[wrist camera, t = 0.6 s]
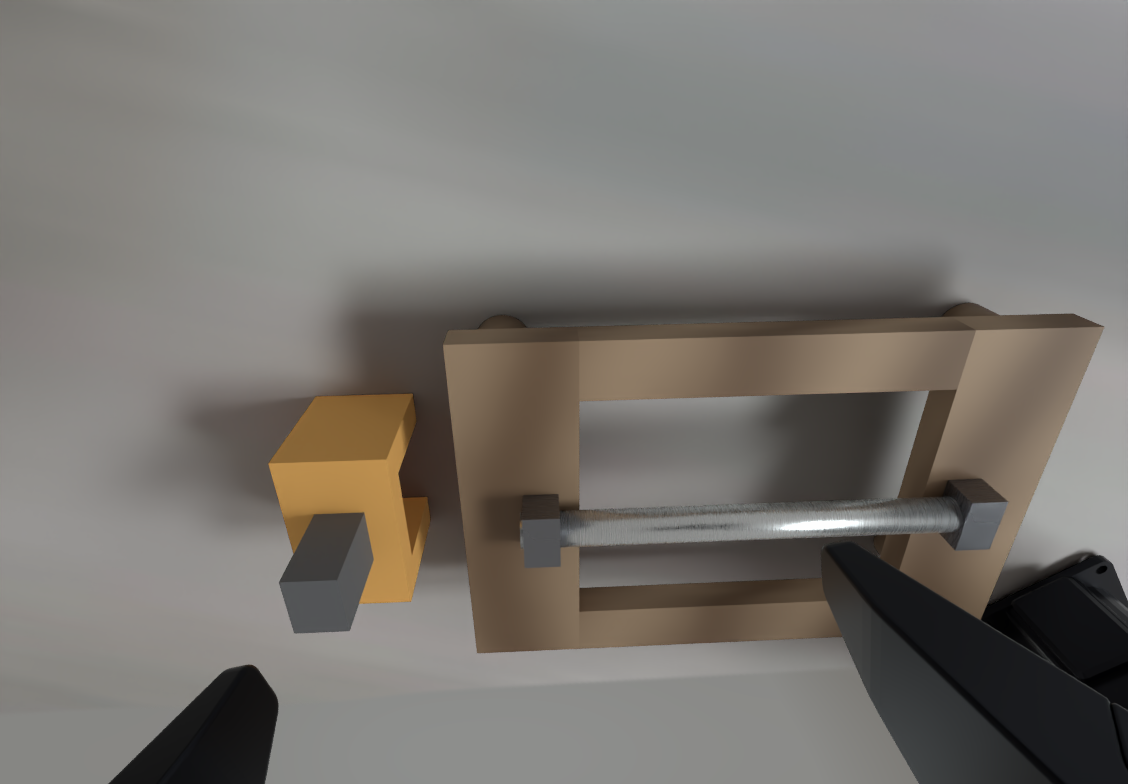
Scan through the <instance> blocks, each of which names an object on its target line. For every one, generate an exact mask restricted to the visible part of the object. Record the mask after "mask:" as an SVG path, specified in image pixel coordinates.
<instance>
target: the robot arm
mask: <svg viewBox="0 0 1128 784" xmlns="http://www.w3.org/2000/svg"><path fill="white" fill-rule="evenodd" d="M821 567H822V586H823V591H824V594H825V597H826V600H827V602H828V605H829V607H830V609H831V611H832V614H833V616H834V618H835V620H836V623H837V625H838V627H839V629H840V632H841V634H842V636H843V638H844V641H845V643H846V645H847V647H848V650H849V652H850V654H851V656H852V659H853V661H854V663H855V665H856V668H857V670H858V672H859V674H860V677H861V679H862V681H863V683H864V686H865V688H866V690H867V692H868V694H869V696H870V698H871V700H872V702H873V704H874V706H875V708H876V709H877V711H878V713H879V715H880V717H881V718H882V720H883V722H884V724H885V725H886V727H887V729H888V731H889V732H890V734H891V736H892V737H893V739H894V741H895V743H896V745H897V746H898V748H899V750H900V751H901V753H902V755H903V757H904V758H905V760H906V762H907V764H908V765H909V767H910V769H911V771H912V772H913V774H914V776H915V778H916V779H917V781H918V783H919V784H1128V600H1127V598H1126V596H1125V593H1124V591H1123V588H1122V586H1121V583H1120V581H1119V578H1118V576H1117V574H1116V571H1115V569H1114V566H1113V564H1112V563H1111V562H1110V561H1109V560H1107V559H1106V558H1105V557H1104V556H1101V555H1099V556H1094V557H1091V558H1089V559H1087V560H1085V561H1083V562H1081V563H1079V564H1076V565H1074V566H1072V567H1070V568H1068V569H1066V570H1064V571H1062V572H1060V573H1058V574H1055V575H1053V576H1051V577H1049V578H1047V579H1045V580H1043V581H1041V582H1039V583H1037V584H1035V585H1032V586H1030V587H1028V588H1026V589H1024V590H1022V591H1020V592H1018V593H1016V594H1014V595H1011V596H1009V597H1007V598H1005V599H1003V600H1001V601H999V602H997V603H995V604H993V605H991V606H988V607H986V608H985V611H984V613H983V615H982V618H981V620H980V619H978V618H976V617H975V616H973V615H972V614H970V613H968V612H967V611H965V610H963V609H962V608H960V607H959V606H957V605H955V604H954V603H952V602H951V601H949V600H947V599H946V598H944V597H942V596H941V595H939V594H938V593H936V592H934V591H933V590H931V589H929V588H928V587H926V586H925V585H923V584H921V583H920V582H918V581H916V580H915V579H913V578H912V577H910V576H908V575H907V574H905V573H903V572H902V571H900V570H899V569H897V568H895V567H894V566H892V565H890V564H889V563H887V562H886V561H884V560H882V559H881V558H879V557H877V556H876V555H874V554H873V553H871V552H869V551H868V550H866V549H864V548H863V547H861V546H860V545H858V544H856V543H855V542H852V541H849V540H844V541H839V542H835V543H830V544H826V545H824V546H823V547H822V550H821ZM277 716H278V699H277V696H276V694H275V693H274V691H273V690H272V688H271V687H270V685H269V684H268V683H267V681H266V680H265V678H264V677H263V676H262V674H261V673H260V671H259V670H258V669H257V668H256V667H255V666H253V665H243V666H239V667H234V668H229V669H227V670H225V671H223V672H222V673H221V674H220V675H219V676H218V677H217V678H216V679H215V680H214V681H213V682H212V683H211V684H210V685H209V686H208V687H207V688H206V689H205V690H204V691H203V692H202V693H200V694H199V695H198V696H197V697H196V698H195V699H194V700H193V701H192V702H191V703H190V704H189V705H188V706H187V707H186V708H185V709H184V710H183V711H182V712H181V713H180V714H179V715H178V716H177V717H176V718H175V719H174V720H173V721H172V722H171V723H170V724H169V725H168V726H167V727H166V728H165V729H164V730H163V731H162V732H161V733H160V734H159V735H158V736H157V737H156V738H155V739H154V740H153V741H152V742H151V743H149V745H147V747H145V748H144V749H143V750H142V751H141V752H140V753H139V754H138V755H137V756H136V757H135V758H134V759H133V760H132V761H131V762H130V763H129V764H128V765H127V766H126V767H125V768H124V769H123V770H122V771H121V772H120V773H119V774H118V775H117V776H116V777H115V778H114V779H113V780H112V781H111V782H110V783H109V784H265V780H266V775H267V770H268V764H269V758H270V753H271V748H272V743H273V737H274V732H275V726H276V721H277Z"/></svg>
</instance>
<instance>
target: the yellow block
mask: <svg viewBox="0 0 1128 784" xmlns="http://www.w3.org/2000/svg"><path fill="white" fill-rule="evenodd" d="M416 422H417V420H416V413H415V406H414V399H413V394H380V395H347V396H316V397H315V398H314V400H313V401H312V403H311V404H310V405H309V407H308V408H307V410H306V411H305V412H304V414H303V415H302V417H301V418H300V420H299V421H298V422H297V424H296V425H295V427H294V428H293V429H292V431H291V432H290V434H289V435H288V436H287V438H286V439H285V441H284V442H283V443H282V445H281V446H280V448H279V449H278V451H277V452H276V453H275V455H274V456H273V458H272V459H271V460H270V462H269V463H268V464H269V468H270V471H271V475H272V479H273V482H274V486H275V489H276V493H277V496H278V500H279V503H280V507H281V511H282V514H283V518H284V521H285V525H286V528H287V532H288V535H289V539H290V543H291V546H292V550H293V553H294V554H293V556H292V558H291V560H290V562H289V564H288V566H287V568H286V570H285V572H284V574H283V576H282V578H281V580H280V582H279V584H280V588H281V591H282V594H283V597H284V601H285V604H286V607H287V611H288V614H289V617H290V621H291V624H292V627H293V630H294V633H316V632H339V631H350V628H351V625H352V622H353V619H354V616H355V614H356V611H357V608H358V605H359V604H365V603H388V602H411V600H412V596H413V591H414V587H415V583H416V579H417V575H418V571H419V566H420V562H421V558H422V554H423V550H424V546H425V541H426V537H427V533H428V529H429V525H430V521H431V519H430V512H429V505H428V498H427V497H413V498H402V493H401V487H400V481H399V475H398V472H399V470H400V467H401V464H402V461H403V458H404V456H405V453H406V450H407V447H408V444H409V441H410V439H411V436H412V433H413V430H414V427H415V424H416Z"/></svg>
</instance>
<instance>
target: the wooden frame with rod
mask: <svg viewBox="0 0 1128 784" xmlns="http://www.w3.org/2000/svg"><path fill="white" fill-rule="evenodd" d="M1103 329H1104V326H1101V325H1099V324H1097V323H1094V322H1092V321H1089V320H1087V319H1085V318H1082V317H1080V316H1077V315H1075V314H1039V315H1001V316H1000V315H998V314H996V313H994V312H992V311H990V310H988V309H986V308H984V307H982V306H980V305H978V304H974V303H964V304H960V305H957V306H955V307H953V308H951V309H950V310H948V311H947V312H946V313H944V314H943V316H942V317H926V318H889V319H851V320H813V321H776V322H738V323H700V324H663V325H625V326H588V327H550V328H527V327H526V326H525V325H524V324H523V323H522V322H521V321H520V320H518V319H517V318H514V317H512V316H508V315H497V316H493V317H491V318H489V319H487V320H486V321H484V322H483V323H482V324H481V325H480V327H479V329H475V330H448V332H447V335H446V338H445V340H444V343H443V351H444V360H445V369H446V378H447V387H448V396H449V405H450V414H451V423H452V432H453V441H454V450H455V459H456V468H457V477H458V486H459V495H460V504H461V513H462V522H463V531H464V540H465V549H466V558H467V567H468V576H469V585H470V594H471V602H472V611H473V620H474V629H475V638H476V647H477V653H493V652H516V651H538V650H560V649H582V648H604V647H626V646H648V645H671V644H693V643H715V642H737V641H759V640H781V639H803V638H826V637H843V636H842V634H841V632H840V629H839V627H838V625H837V623H836V620H835V618H834V616H833V614H832V611H831V609H830V607H829V605H828V602H827V600H826V597H825V594H824V591H823V586H822V578H808V579H784V580H760V581H736V582H712V583H688V584H664V585H640V586H616V587H592V588H579V547H563V548H561V567H541V568H525V565H524V549H521V545H520V512H522V504H523V495H544V494H559V511H569V510H579V401H603V400H635V399H667V398H700V397H732V396H765V395H797V394H829V393H862V392H894V391H926V390H930V391H929V394H928V397H927V401H926V404H925V407H924V411H923V414H922V418H921V421H920V424H919V428H918V431H917V434H916V438H915V441H914V444H913V448H912V451H911V455H910V458H909V461H908V465H907V468H906V471H905V475H904V478H903V481H902V485H901V488H900V492H899V495H898V498H919V497H942V496H943V493H944V490H945V487H946V484H947V481H948V480H959V479H983V480H984V481H985V482H986V483H988V484H989V485H990V486H991V487H992V488H993V489H994V490H996V491H997V492H998V493H999V494H1000V495H1001V496H1002V497H1004V498H1005V499H1006V500H1007V501H1008V505H1007V507H1006V510H1005V512H1004V515H1003V517H1002V520H1001V522H1000V525H999V527H998V530H997V532H996V535H995V537H994V539H993V542H992V544H991V547H990V549H987V550H962V551H955V550H954V549H953V548H952V547H951V546H950V545H949V544H948V542H947V541H946V540H945V539H944V538H943V537H942V536H941V535H940V534H939V533H919V534H894V535H876V536H875V538H874V547H875V549H876V550H877V552H878V553H879V554H880V558H881V559H882V560H884V561H886V562H887V563H889V564H890V565H892V566H894V567H895V568H897V569H899V570H900V571H902V572H903V573H905V574H907V575H908V576H910V577H912V578H913V579H915V580H916V581H918V582H920V583H921V584H923V585H925V586H926V587H928V588H929V589H931V590H933V591H934V592H936V593H938V594H939V595H941V596H942V597H944V598H946V599H947V600H949V601H951V602H952V603H954V604H955V605H957V606H959V607H960V608H962V609H963V610H965V611H967V612H968V613H970V614H972V615H973V616H975V617H976V618H978V619H980V620H981V618H982V615H983V613H984V611H985V608H986V606H987V603H988V601H989V599H990V596H991V594H992V592H993V589H994V587H995V585H996V582H997V580H998V577H999V575H1000V573H1001V570H1002V568H1003V566H1004V563H1005V561H1006V558H1007V556H1008V554H1009V551H1010V549H1011V547H1012V544H1013V542H1014V540H1015V537H1016V535H1017V532H1018V530H1019V528H1020V525H1021V523H1022V521H1023V518H1024V516H1025V514H1026V511H1027V509H1028V506H1029V504H1030V502H1031V499H1032V497H1033V495H1034V492H1035V490H1036V488H1037V485H1038V483H1039V480H1040V478H1041V476H1042V473H1043V471H1044V469H1045V466H1046V464H1047V462H1048V459H1049V457H1050V454H1051V452H1052V450H1053V447H1054V445H1055V443H1056V440H1057V438H1058V436H1059V433H1060V431H1061V428H1062V426H1063V424H1064V421H1065V419H1066V417H1067V414H1068V412H1069V409H1070V407H1071V405H1072V402H1073V400H1074V398H1075V395H1076V393H1077V391H1078V388H1079V386H1080V383H1081V381H1082V379H1083V376H1084V374H1085V372H1086V369H1087V367H1088V365H1089V362H1090V360H1091V357H1092V355H1093V353H1094V350H1095V348H1096V346H1097V343H1098V341H1099V339H1100V336H1101V334H1102V331H1103Z"/></svg>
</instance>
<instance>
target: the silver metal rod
mask: <svg viewBox="0 0 1128 784" xmlns="http://www.w3.org/2000/svg"><path fill="white" fill-rule="evenodd" d="M1007 505H1008V501H1007V500H1006V499H1005V498H1004V497H1002V496H1001V495H1000V494H999V493H998V492H997V491H996V490H994V489H993V488H992V487H991V486H990V485H989V484H988V483H986V482H985V481H984V480H983V479H959V480H948V481H947V484H946V487H945V490H944V493H943V496H942V497H919V498H892V499H865V500H838V501H811V502H784V503H757V504H730V505H703V506H677V507H650V508H623V509H596V510H569V511H559V494H544V495H523V504H522V512H520V545H521V549H524V565H525V568H541V567H561V548H563V547H588V546H614V545H639V544H665V543H690V542H716V541H741V540H767V539H792V538H817V537H843V536H868V535H894V534H919V533H939V534H940V535H941V536H942V537H943V538H944V539H945V540H946V541H947V542H948V544H949V545H950V546H951V547H952V548H953V549H954V550H955V551H962V550H987V549H990V547H991V544H992V542H993V539H994V537H995V535H996V532H997V530H998V527H999V525H1000V522H1001V520H1002V517H1003V515H1004V512H1005V510H1006V507H1007Z"/></svg>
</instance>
